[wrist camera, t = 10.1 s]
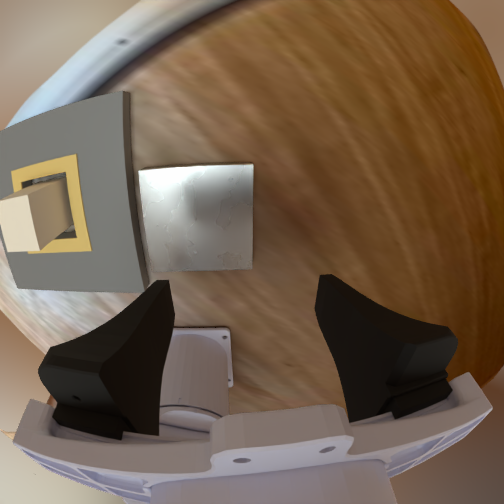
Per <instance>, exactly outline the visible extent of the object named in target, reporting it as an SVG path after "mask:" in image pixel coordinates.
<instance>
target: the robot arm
mask: <svg viewBox="0 0 504 504" xmlns="http://www.w3.org/2000/svg"><path fill="white" fill-rule="evenodd" d="M315 312H316V316H317V320H318V323H319V326H320V329H321V331H322V333H323V336H324V338H325V340H326V342H327V345H328V347H329V349H330V352H331V354H332V356H333V358H334V361H335V364H336V367H337V370H338V374H339V377H340V381H341V385H342V389H343V393H344V397H345V402H346V407H347V412H348V418H349V421H348V418H347V415H346V413H345V410H344V408H342V407H339V406H337V405H334V404H321V405H313V406H307V407H299V408H292V409H283V410H273V411H261V412H246V413H237V414H231V415H229V390H228V387H232V386H233V371H232V356H231V341H230V330H229V329H228V328H173V327H174V319H175V312H174V306H173V301H172V296H171V290H170V284H169V280H156V281H155V282H154V283H153V284H152V285H151V286H150V287H148V288H147V289H146V290H145V291H144V292H143V293H142V294H141V295H140V296H139V297H138V298H137V299H136V300H135V301H133V302H132V303H131V304H130V305H129V306H127V307H126V308H125V309H124V310H123V311H122V312H120V313H119V314H118V315H116V316H115V317H114V318H112V319H111V320H109V321H108V322H106V323H105V324H103V325H101V326H99V327H98V328H96V329H94V330H92V331H91V332H89V333H87V334H85V335H82V336H80V337H78V338H76V339H73V340H71V341H68V342H65V343H62V344H59V345H56V346H53V347H50V349H49V350H48V352H47V354H46V356H45V357H44V359H43V361H42V363H41V365H40V367H39V369H38V374H39V377H40V379H41V381H42V383H43V385H44V386H45V387H46V388H47V390H48V391H49V393H50V394H51V395H52V397H53V398H54V399H55V400H56V402H57V405H56V408H53V407H52V406H50V405H48V404H45V403H43V402H40V401H37V400H34V399H30V401H29V403H28V405H27V407H26V409H25V412H24V414H23V416H22V419H21V421H20V424H19V426H18V429H17V431H16V434H15V437H14V439H13V444H14V445H15V446H17V447H18V448H19V449H20V450H21V451H23V452H24V453H25V454H26V455H28V456H29V457H30V458H31V459H33V460H34V461H35V462H37V463H38V464H39V465H41V466H42V467H44V468H45V469H47V470H49V471H51V472H54V473H56V474H58V475H61V476H63V477H66V478H68V479H71V480H73V481H76V482H78V483H81V484H83V485H87V486H89V487H92V488H95V489H97V490H100V491H103V492H107V493H110V494H113V495H116V496H120V497H122V499H123V501H124V502H125V503H126V504H397V501H396V498H395V495H394V492H393V489H392V486H391V483H390V480H389V478H391V477H393V476H395V475H397V474H400V473H402V472H404V471H406V470H408V469H410V468H412V467H413V466H416V465H418V464H420V463H421V462H423V461H425V460H427V459H429V458H431V457H432V456H434V455H436V454H438V453H439V452H441V451H443V450H445V449H446V448H448V447H449V446H451V445H453V444H455V443H456V442H458V441H459V440H461V439H463V438H464V437H465V436H466V435H467V434H468V433H469V432H470V431H472V430H473V429H474V428H475V427H476V426H477V425H478V424H479V423H480V422H481V421H482V419H484V417H486V415H487V414H488V413H489V412H490V411H491V410H492V406H491V404H490V403H489V401H488V399H487V398H486V396H485V395H484V393H483V392H482V390H481V389H480V387H479V386H478V384H477V383H476V381H475V380H474V379H473V377H472V376H471V374H470V373H469V372H467V373H465V374H463V375H461V376H459V377H457V378H455V379H453V380H452V381H450V382H449V383H448V382H447V380H446V378H447V376H448V373H447V372H446V370H445V368H446V367H447V365H448V363H449V362H450V360H451V359H452V357H453V355H454V353H455V351H456V349H457V345H458V339H457V338H456V336H455V335H454V334H453V332H452V331H451V330H450V329H449V328H448V327H446V326H441V325H435V324H430V323H426V322H422V321H419V320H415V319H412V318H409V317H406V316H404V315H401V314H398V313H396V312H394V311H392V310H389V309H387V308H385V307H383V306H381V305H379V304H378V303H376V302H374V301H372V300H371V299H369V298H367V297H366V296H364V295H363V294H361V293H359V292H358V291H356V290H355V289H353V288H352V287H350V286H349V285H348V284H346V283H345V282H343V281H342V280H340V279H339V278H337V277H336V276H334V275H332V274H327V275H320V277H319V284H318V290H317V297H316V303H315ZM224 336H226V337H224Z"/></svg>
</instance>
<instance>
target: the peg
mask: <svg viewBox="0 0 504 504" xmlns="http://www.w3.org/2000/svg"><path fill="white" fill-rule="evenodd" d="M73 224H74V221H73V216H72V211H71V205H70V199H69V193H68V186H67V178H66V177H61V178H56V179H51V180H46V181H41V182H37V183H35V184H33V185H30V186H28V187H26V188H24V189H21V190H19V191H17V192H15V193H13V194H11V195H9V196H7V197H5V198H3V199H1V200H0V225H1V230H2V234H3V237H4V241H5V245H6V248H7V252H22V251H40V250H42V249H43V248H44V247H45V246H46V245H47V244H49V243H50V242H51V241H52V240H54V239H55V238H56V237H57V236H58V235H60V234H61V233H62V232H64V231H65V230H66V229H67V228H69V227H70V226H71V225H73Z"/></svg>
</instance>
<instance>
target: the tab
mask: <svg viewBox="0 0 504 504" xmlns="http://www.w3.org/2000/svg"><path fill="white" fill-rule="evenodd" d="M139 183H140V193H141V202H142V211H143V219H144V226H145V233H146V240H147V246H148V252H149V258H150V264H151V270H152V272H169V271H212V270H246V269H252V251H253V164H252V162H231V163H202V164H184V165H170V166H157V167H147V168H143V169H141V170H139Z"/></svg>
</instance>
